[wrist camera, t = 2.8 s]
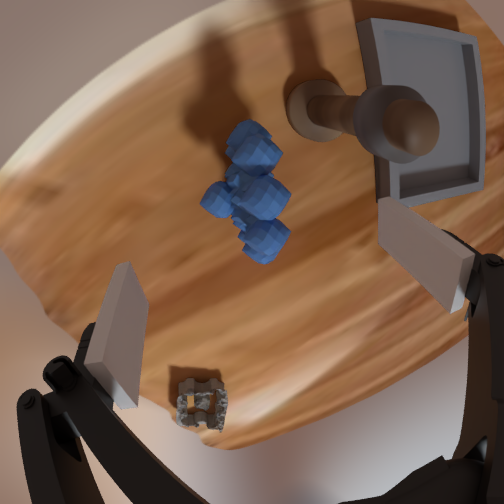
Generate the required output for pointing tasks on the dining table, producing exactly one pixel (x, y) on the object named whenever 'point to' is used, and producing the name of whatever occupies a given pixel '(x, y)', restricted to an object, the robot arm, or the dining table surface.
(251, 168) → the grapes
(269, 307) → the dining table surface
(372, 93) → the post
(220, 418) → the egg carton
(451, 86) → the holder tray
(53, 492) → the robot arm
